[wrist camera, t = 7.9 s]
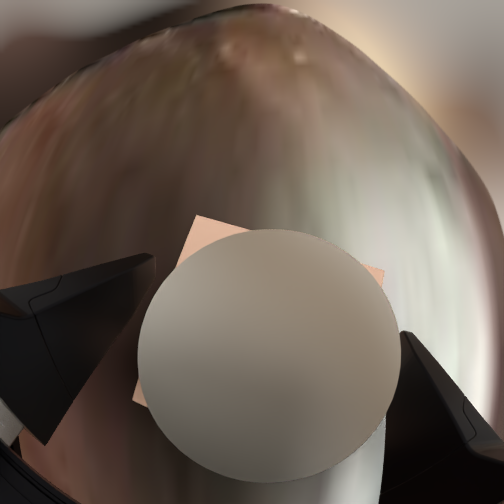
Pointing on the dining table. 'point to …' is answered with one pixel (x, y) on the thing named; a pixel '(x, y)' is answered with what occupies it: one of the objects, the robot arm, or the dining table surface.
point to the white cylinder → (269, 356)
